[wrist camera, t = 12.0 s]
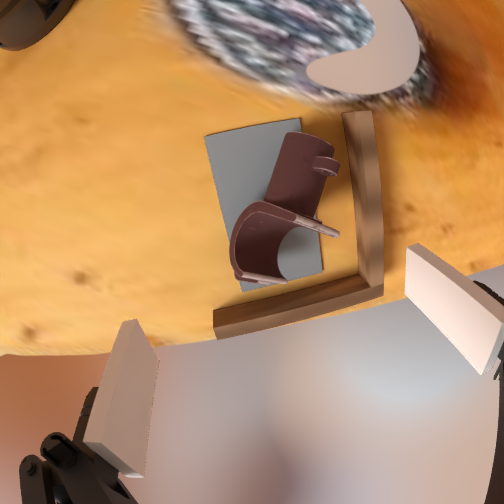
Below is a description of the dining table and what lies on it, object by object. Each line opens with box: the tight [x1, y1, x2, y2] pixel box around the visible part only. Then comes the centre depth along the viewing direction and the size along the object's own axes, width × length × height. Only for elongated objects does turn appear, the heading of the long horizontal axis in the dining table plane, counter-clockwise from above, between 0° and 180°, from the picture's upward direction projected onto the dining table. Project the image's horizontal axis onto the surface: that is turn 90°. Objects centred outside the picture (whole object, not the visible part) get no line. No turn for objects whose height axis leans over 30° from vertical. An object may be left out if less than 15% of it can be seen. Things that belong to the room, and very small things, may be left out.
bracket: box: [229, 132, 340, 285], centre depth 30 cm, size 6×17×10 cm
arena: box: [213, 111, 384, 340], centre depth 33 cm, size 24×23×4 cm
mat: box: [204, 118, 322, 292], centre depth 34 cm, size 20×11×1 cm, turn 12°
